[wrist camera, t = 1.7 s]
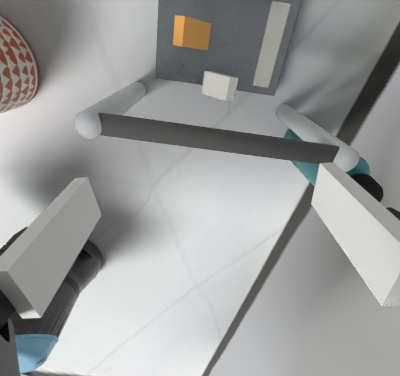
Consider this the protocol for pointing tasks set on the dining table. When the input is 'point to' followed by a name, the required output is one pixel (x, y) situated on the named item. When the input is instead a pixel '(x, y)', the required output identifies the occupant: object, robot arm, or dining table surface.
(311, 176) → the beverage bottle
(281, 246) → the dining table surface
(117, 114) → the cord rack
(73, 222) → the robot arm
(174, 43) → the amber brick
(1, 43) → the planter
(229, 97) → the off-white eraser brick
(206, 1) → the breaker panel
